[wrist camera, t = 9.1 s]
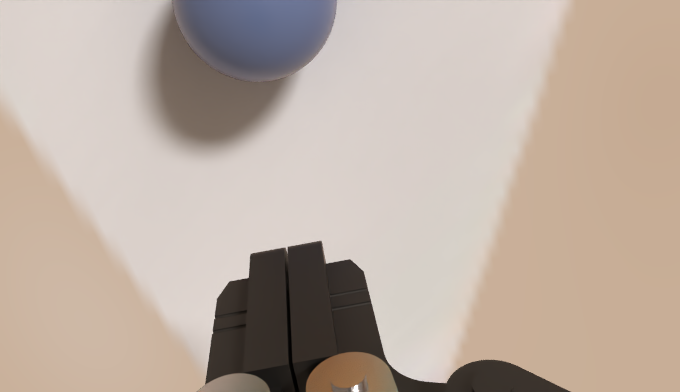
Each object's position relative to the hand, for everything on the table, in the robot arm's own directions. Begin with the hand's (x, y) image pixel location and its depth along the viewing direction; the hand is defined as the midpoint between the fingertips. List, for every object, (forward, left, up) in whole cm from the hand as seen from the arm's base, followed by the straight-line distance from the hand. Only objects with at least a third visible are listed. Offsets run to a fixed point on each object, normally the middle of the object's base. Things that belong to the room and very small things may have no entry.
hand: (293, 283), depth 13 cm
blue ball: (-5, 0, -9) cm, 10 cm away
